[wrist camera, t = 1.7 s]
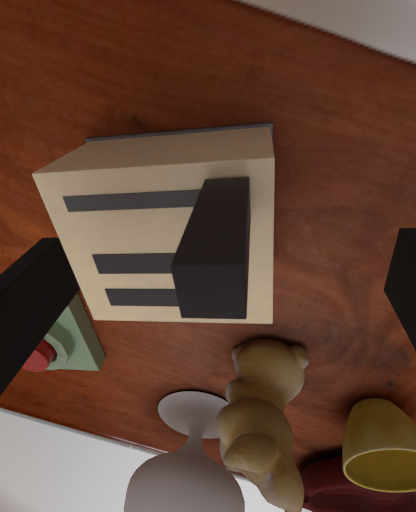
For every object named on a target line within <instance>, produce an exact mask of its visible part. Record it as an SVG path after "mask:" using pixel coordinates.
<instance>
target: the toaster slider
mask: <svg viewBox="0 0 416 512" xmlns="http://www.w3.org/2000/svg"><path fill="white" fill-rule="evenodd" d="M250 225H251V207H250V178H249V177H236V178H218V179H205V180H204V183H203V185H202V188H201V190H200V193H199V195H198V198H197V200H196V203H195V205H194V208H193V210H192V213H191V215H190V218H189V220H188V223H187V225H186V228H185V230H184V233H183V235H182V238H181V240H180V243H179V245H178V248H177V250H176V253H175V255H174V258H173V260H172V263H171V265H170V267H171V272H172V276H173V281H174V286H175V291H176V295H177V300H178V305H179V309H180V314H181V318H203V319H246V318H247V299H248V274H249V250H250Z"/></svg>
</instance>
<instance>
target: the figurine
mask: <svg viewBox="0 0 416 512" xmlns="http://www.w3.org/2000/svg"><path fill="white" fill-rule="evenodd" d="M231 355H232V360H233V361H234V369H235V372H236V379H235V380H232V381H230V382H229V383H228V384H227V386H226V399H227V401H228V402H230V404H228V405H226V406H224V407H223V408H222V409H221V410H220V411H219V413H218V415H217V417H216V431H217V434H218V436H219V438H220V453H221V457H222V460H223V462H224V465H225V466H226V468H227V469H229V470H232V471H238V472H242V473H243V474H244V475H245V476H246V477H247V478H248V479H249V480H250V481H251V482H252V483H253V484H255V485H256V486H257V487H258V489H259V490H260V492H261V494H262V495H263V497H264V498H265V499H266V501H267V502H269V503H271V504H272V505H274V506H277V507H279V508H282V509H284V510H285V512H301V510H302V506H303V500H304V487H303V482H302V479H301V476H300V473H299V471H298V469H297V467H296V465H295V463H294V461H293V458H292V448H293V436H292V430H291V427H290V424H289V422H288V420H287V419H286V417H285V415H284V414H283V413H284V406H285V404H287V403H288V402H289V401H291V400H292V399H293V398H294V397H295V396H297V394H298V393H299V392H300V390H301V389H302V387H303V384H304V379H305V373H304V369H305V367H306V366H307V365H308V364H309V360H308V355H307V353H306V351H305V349H304V348H303V347H301V346H299V345H294V346H287V345H286V344H284V343H282V342H280V341H277V340H274V339H267V338H261V339H254V340H250V341H247V342H245V343H243V344H242V345H239V346H237V347H235V348H234V349H233V350H232V354H231Z"/></svg>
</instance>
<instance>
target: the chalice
mask: <svg viewBox="0 0 416 512" xmlns="http://www.w3.org/2000/svg"><path fill="white" fill-rule="evenodd" d="M228 404H229V403H228V402H226V401H225V400H223V399H221V398H219V397H216V396H214V395H210V394H207V393H201V392H193V391H184V392H177V393H173V394H170V395H168V396H166V397H165V398H163V399H162V400H161V401H160V403H159V405H158V412H159V415H160V417H161V418H162V420H163V421H164V422H165V423H166V424H167V425H168V426H170V427H171V428H172V429H174V430H176V431H178V432H180V433H183V434H185V435H189V438H188V440H187V442H186V444H185V445H184V446H183V447H182V448H180V449H179V450H176V451H173V452H169V453H165V454H161V455H158V456H155V457H153V458H151V459H149V460H147V461H145V463H143V464H142V465H141V466H140V467H139V468H138V469H137V470H136V471H135V472H134V474H133V475H132V477H131V479H130V482H129V485H128V489H127V493H126V499H125V506H124V512H245V511H244V506H245V505H244V498H243V495H242V491H241V488H240V486H239V484H238V483H237V481H236V480H235V478H234V477H233V476H232V475H231V474H230V473H229V472H228V471H227V470H226V469H225V468H224V467H223V466H221V465H220V464H218V463H217V462H215V461H214V460H213V459H211V458H210V457H209V456H208V455H207V454H206V453H205V451H204V449H203V447H202V440H201V439H202V438H208V439H210V438H219V436H218V434H217V431H216V417H217V415H218V413H219V411H220V410H221V409H222V408H223V407H224V406H226V405H228Z"/></svg>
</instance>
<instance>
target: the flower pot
mask: <svg viewBox="0 0 416 512" xmlns="http://www.w3.org/2000/svg"><path fill="white" fill-rule="evenodd" d="M342 462H343V472H344V474H345V476H346V477H347V478H348V479H349V480H350V481H352V482H353V483H355V484H357V485H359V486H361V487H364V488H367V489H371V490H376V491H381V492H412V491H416V424H415V423H414V422H413V421H412V419H411V418H410V417H409V416H407V415H406V414H405V413H404V412H403V411H402V410H401V409H400V408H398V407H397V406H396V405H395V404H393V403H392V402H390V401H388V400H385V399H380V398H369V399H364V400H361V401H359V402H357V403H356V404H355V405H354V406H353V408H352V410H351V412H350V414H349V417H348V420H347V423H346V427H345V431H344V437H343V447H342Z"/></svg>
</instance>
